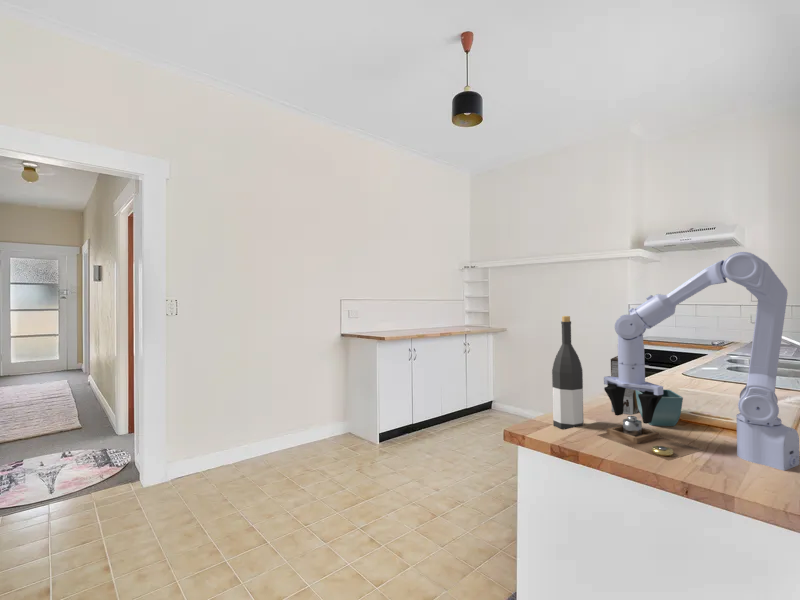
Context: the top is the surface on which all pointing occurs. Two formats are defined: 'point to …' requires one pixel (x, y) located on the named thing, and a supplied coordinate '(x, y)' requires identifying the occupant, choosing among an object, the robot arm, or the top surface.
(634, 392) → the coffee box
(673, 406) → the flower pot
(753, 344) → the robot arm
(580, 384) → the wine bottle
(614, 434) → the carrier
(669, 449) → the brass domed disc
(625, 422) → the silver knobbed cylinder
